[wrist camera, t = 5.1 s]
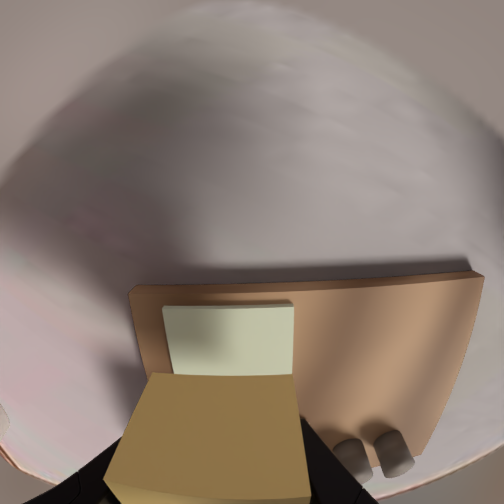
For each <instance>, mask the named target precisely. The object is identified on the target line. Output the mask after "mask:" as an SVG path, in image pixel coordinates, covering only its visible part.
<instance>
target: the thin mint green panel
mask: <svg viewBox="0 0 504 504" xmlns="http://www.w3.org/2000/svg"><path fill="white" fill-rule="evenodd" d="M162 312H163V318H164V324H165V330H166V336H167V341H168V346H169V351H170V357H171V361H172V366H173V371H174V374H185V375H216V376H251V375H282V374H292V363H293V334H294V305H293V304H269V305H231V306H164V307H163V308H162Z"/></svg>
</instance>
